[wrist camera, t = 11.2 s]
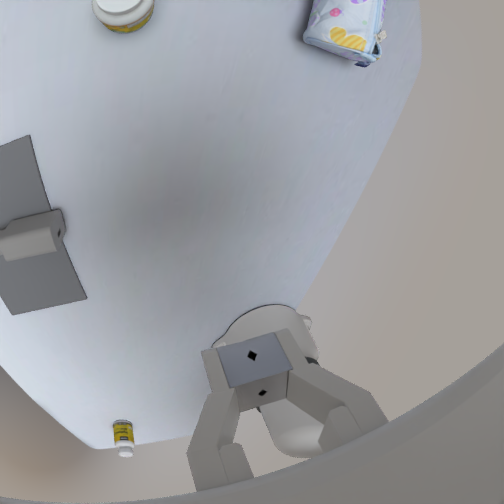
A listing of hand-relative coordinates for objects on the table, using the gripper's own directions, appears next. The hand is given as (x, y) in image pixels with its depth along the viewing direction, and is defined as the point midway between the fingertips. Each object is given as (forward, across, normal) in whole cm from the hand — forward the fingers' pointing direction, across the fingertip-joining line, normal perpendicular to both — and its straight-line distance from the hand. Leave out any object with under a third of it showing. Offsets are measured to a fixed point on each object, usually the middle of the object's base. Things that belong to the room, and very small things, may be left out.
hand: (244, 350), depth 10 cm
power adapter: (+26, -14, -6) cm, 30 cm away
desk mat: (+29, -23, -7) cm, 38 cm away
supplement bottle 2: (+29, -25, -58) cm, 70 cm away
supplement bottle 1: (+29, -3, +16) cm, 34 cm away
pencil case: (+30, +22, +19) cm, 41 cm away
